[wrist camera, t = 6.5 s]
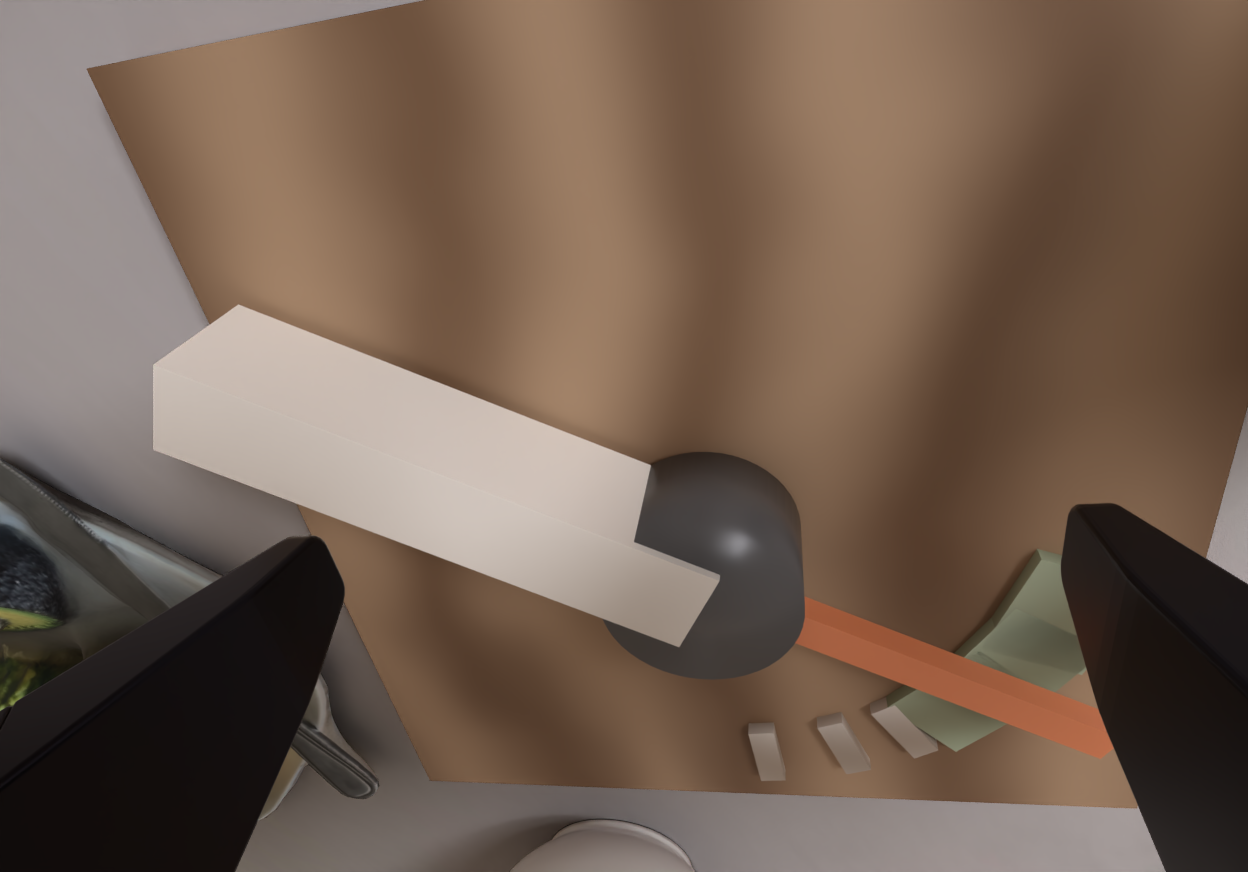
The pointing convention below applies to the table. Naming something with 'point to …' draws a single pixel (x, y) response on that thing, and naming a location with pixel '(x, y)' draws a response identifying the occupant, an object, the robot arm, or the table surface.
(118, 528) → the salad plate
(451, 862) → the table surface
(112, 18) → the table surface
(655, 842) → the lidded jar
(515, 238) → the cutting board
